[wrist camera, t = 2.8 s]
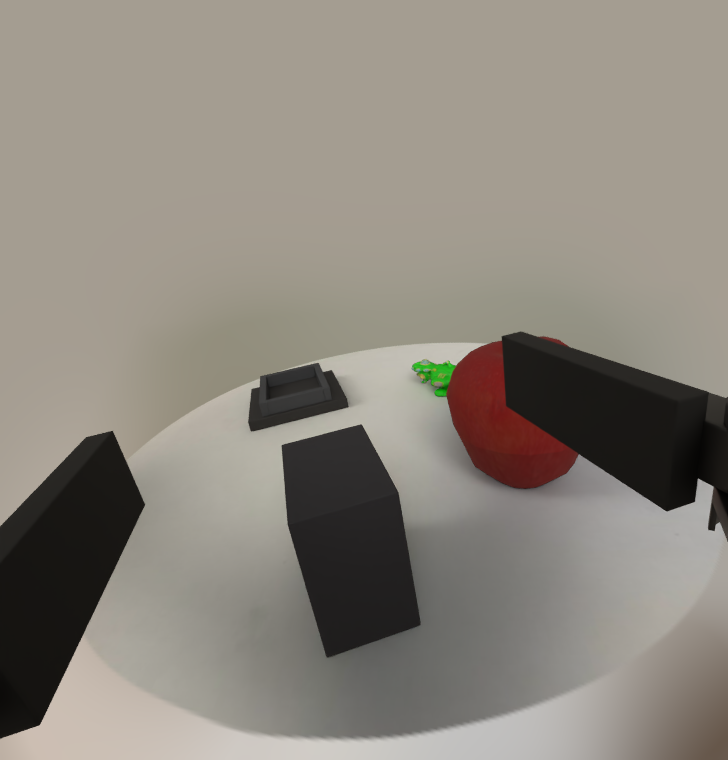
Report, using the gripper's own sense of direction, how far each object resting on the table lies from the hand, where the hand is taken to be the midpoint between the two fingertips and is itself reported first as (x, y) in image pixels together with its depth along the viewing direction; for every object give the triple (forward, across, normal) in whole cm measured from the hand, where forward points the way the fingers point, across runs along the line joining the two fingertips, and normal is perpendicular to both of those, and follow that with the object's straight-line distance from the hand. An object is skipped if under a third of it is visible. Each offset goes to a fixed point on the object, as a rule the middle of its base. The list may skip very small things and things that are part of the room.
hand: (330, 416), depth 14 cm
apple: (+16, +17, -18) cm, 29 cm away
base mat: (+48, -2, -17) cm, 51 cm away
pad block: (+10, 0, -18) cm, 20 cm away
